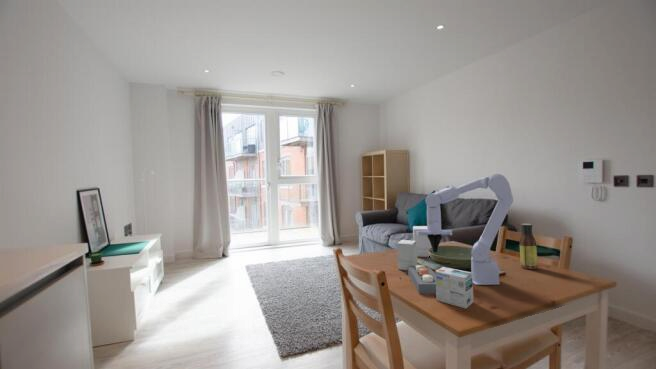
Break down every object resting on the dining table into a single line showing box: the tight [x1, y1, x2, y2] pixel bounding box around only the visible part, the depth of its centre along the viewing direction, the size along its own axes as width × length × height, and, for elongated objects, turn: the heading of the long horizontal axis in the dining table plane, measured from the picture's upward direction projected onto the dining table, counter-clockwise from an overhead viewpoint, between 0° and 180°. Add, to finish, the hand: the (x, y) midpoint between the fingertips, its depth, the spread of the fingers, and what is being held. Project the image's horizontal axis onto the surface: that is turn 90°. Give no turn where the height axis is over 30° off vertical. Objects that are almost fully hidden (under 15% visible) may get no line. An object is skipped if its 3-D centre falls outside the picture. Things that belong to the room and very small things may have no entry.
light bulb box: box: [434, 266, 474, 309], centre depth 102 cm, size 11×7×11 cm, turn 45°
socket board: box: [407, 265, 436, 295], centre depth 120 cm, size 9×21×4 cm, turn 176°
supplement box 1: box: [396, 239, 418, 271], centre depth 139 cm, size 7×7×13 cm
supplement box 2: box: [412, 225, 432, 258], centre depth 158 cm, size 9×9×15 cm
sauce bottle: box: [519, 223, 538, 270], centre depth 131 cm, size 7×6×20 cm
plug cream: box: [423, 274, 433, 282], centre depth 114 cm, size 4×4×5 cm
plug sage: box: [416, 264, 426, 271], centre depth 126 cm, size 4×4×5 cm
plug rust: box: [419, 268, 429, 276], centre depth 120 cm, size 4×4×5 cm
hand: (434, 251), depth 128 cm, fingers closed
